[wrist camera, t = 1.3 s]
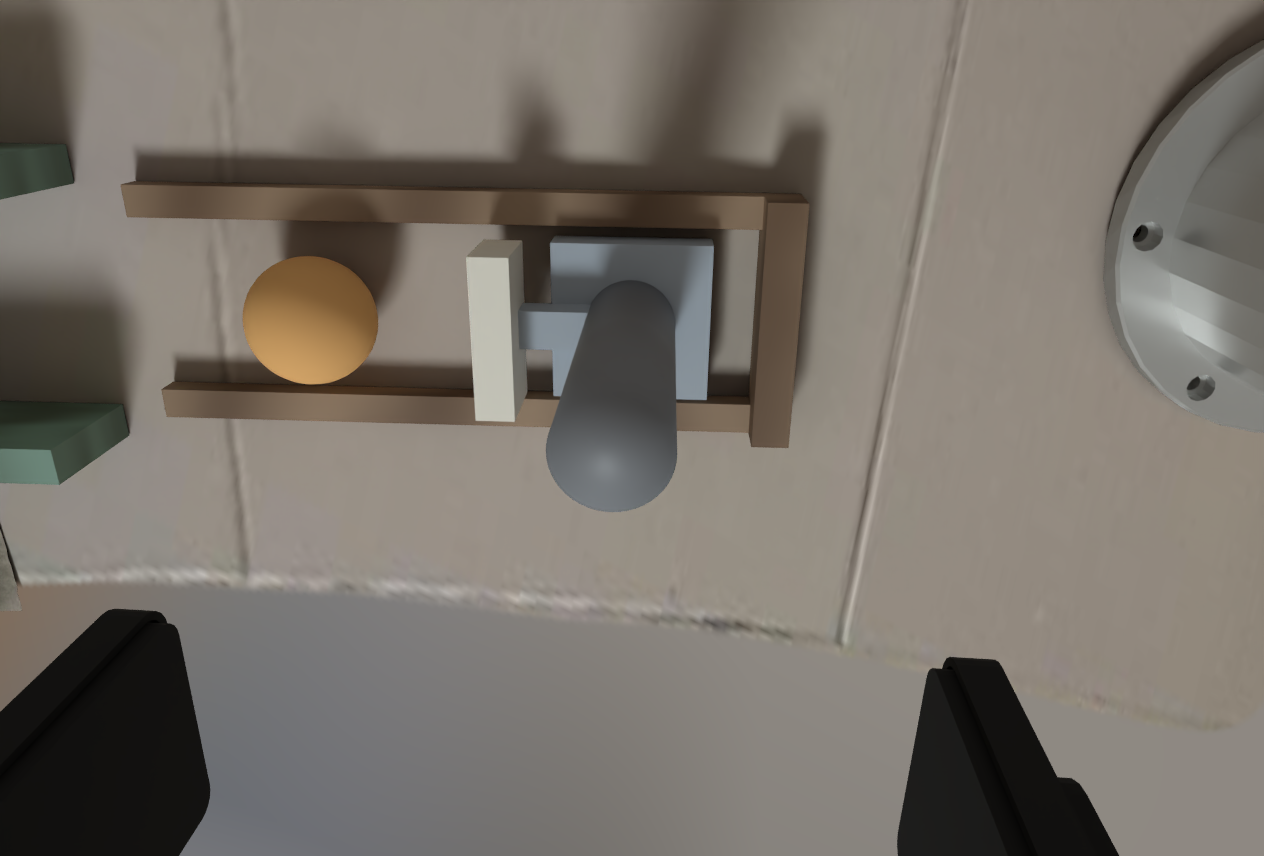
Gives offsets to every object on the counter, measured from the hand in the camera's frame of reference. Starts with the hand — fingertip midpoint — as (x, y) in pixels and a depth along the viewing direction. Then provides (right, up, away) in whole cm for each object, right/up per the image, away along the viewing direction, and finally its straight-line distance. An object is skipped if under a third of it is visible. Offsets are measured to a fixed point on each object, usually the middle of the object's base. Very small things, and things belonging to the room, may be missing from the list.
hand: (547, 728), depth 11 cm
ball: (-9, +7, +17) cm, 21 cm away
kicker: (0, +8, +18) cm, 20 cm away
